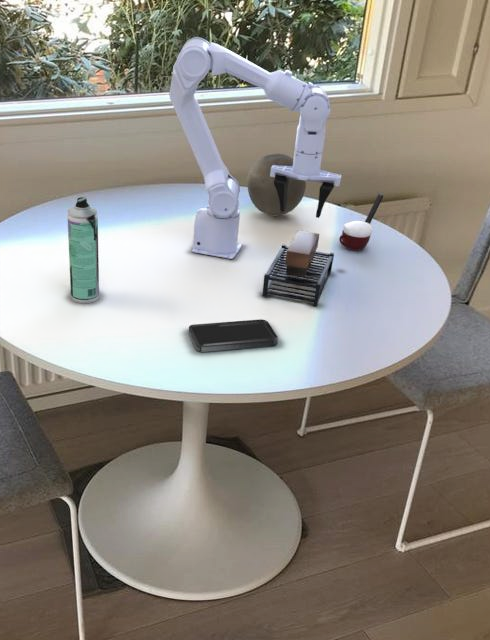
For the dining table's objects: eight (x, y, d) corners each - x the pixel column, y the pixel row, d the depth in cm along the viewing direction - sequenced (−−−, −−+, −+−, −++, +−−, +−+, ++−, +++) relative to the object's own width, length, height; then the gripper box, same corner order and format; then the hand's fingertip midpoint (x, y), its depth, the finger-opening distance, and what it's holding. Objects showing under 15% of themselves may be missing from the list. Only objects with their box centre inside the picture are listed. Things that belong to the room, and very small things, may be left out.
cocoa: (339, 253, 171) (347, 202, 165) (332, 242, 177) (340, 191, 170) (380, 253, 172) (390, 202, 166) (372, 242, 178) (381, 192, 171)
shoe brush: (283, 274, 151) (286, 250, 149) (295, 252, 160) (298, 230, 157) (305, 278, 150) (309, 254, 147) (316, 256, 159) (319, 233, 156)
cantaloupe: (245, 202, 196) (251, 144, 188) (301, 207, 194) (309, 149, 186) (242, 223, 184) (247, 162, 176) (301, 229, 183) (309, 167, 174)
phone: (279, 340, 136) (197, 346, 133) (279, 345, 137) (197, 352, 134) (266, 318, 142) (187, 324, 139) (265, 323, 143) (187, 329, 140)
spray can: (103, 293, 151) (102, 196, 140) (92, 305, 147) (89, 206, 136) (78, 288, 153) (74, 191, 142) (66, 300, 148) (61, 201, 137)
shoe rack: (262, 296, 153) (264, 274, 150) (280, 264, 165) (282, 244, 163) (316, 307, 150) (320, 285, 147) (330, 273, 162) (334, 253, 160)
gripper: (269, 150, 156) (263, 214, 163) (341, 160, 152) (331, 225, 159) (277, 141, 161) (270, 203, 169) (346, 151, 158) (336, 213, 165)
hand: (300, 213), depth 164 cm, fingers open, 7 cm apart
